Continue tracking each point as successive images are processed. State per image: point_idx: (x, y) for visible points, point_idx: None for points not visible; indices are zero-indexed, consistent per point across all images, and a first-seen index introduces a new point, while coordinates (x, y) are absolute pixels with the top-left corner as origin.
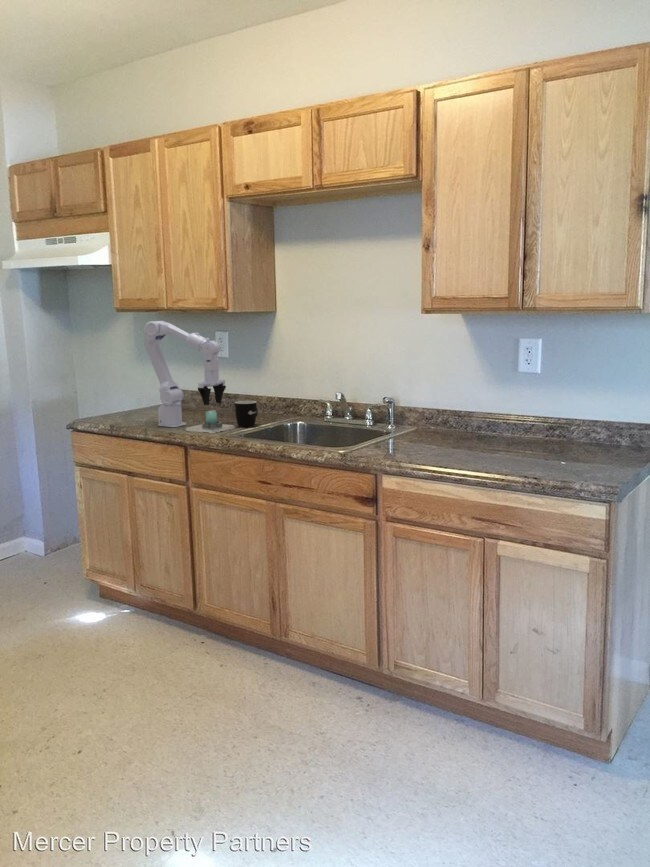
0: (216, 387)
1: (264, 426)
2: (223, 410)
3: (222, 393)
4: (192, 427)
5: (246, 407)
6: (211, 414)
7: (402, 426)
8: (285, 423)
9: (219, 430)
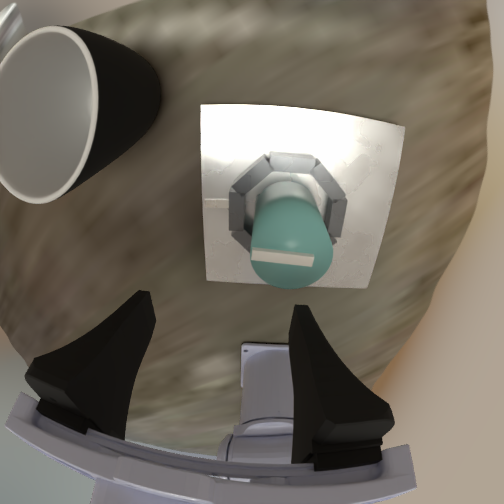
0: (109, 420)
1: (92, 29)
2: (28, 347)
3: (93, 335)
4: (353, 269)
5: (99, 40)
6: (323, 225)
7: None
8: (17, 36)
9: (352, 115)
